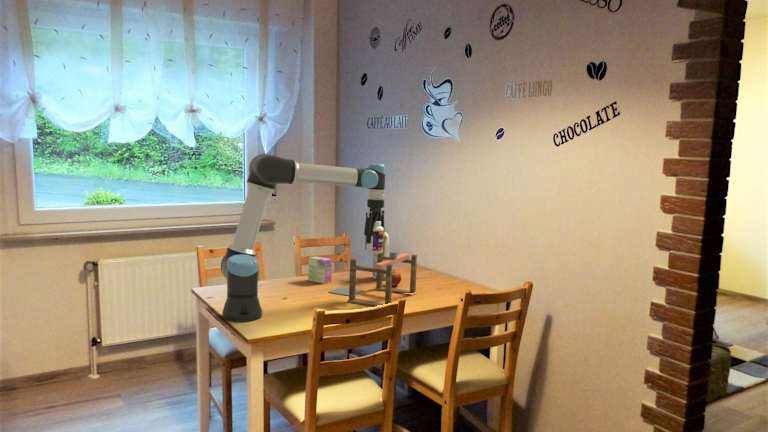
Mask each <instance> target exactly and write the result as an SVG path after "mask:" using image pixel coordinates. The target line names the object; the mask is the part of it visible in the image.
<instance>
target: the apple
mask: <svg viewBox="0 0 768 432" xmlns="http://www.w3.org/2000/svg"><path fill="white" fill-rule="evenodd" d="M401 280H402V275H401V273H400V272H398V271H395V270H392V287H395V286H396V285H397V286H399V284H400V283H401ZM384 281H386V276H385V280H384ZM397 286H396V287H397Z"/></svg>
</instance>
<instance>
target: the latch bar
mask: <svg viewBox="0 0 768 432" xmlns="http://www.w3.org/2000/svg"><path fill="white" fill-rule="evenodd" d="M410 256H411V255H410V254H409V253H402V254H398V252H397V251H389V257H390V259H388V260H385V261H383V262H380V263H377V264H375V269H380V270H382V269H385V268H386V265H387V264H390V265H392V266H395V265H397V264H399V263H403V262H402V261H405V260H407V259H409V260H411V257H410Z"/></svg>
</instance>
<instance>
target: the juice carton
mask: <svg viewBox="0 0 768 432" xmlns="http://www.w3.org/2000/svg"><path fill="white" fill-rule="evenodd" d="M383 256H386V257H390V237H389V234H388V233H387V232H385V231H384V234H383ZM377 257H378V254H372V268H375V264H377ZM383 261H385V260H383ZM384 270H386V268H385V269H384ZM372 276H373V280H374V279H377V273H375V272H372ZM385 276H386V274H382V281H386V280H385Z"/></svg>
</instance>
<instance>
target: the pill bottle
mask: <svg viewBox="0 0 768 432" xmlns="http://www.w3.org/2000/svg"><path fill="white" fill-rule="evenodd" d="M380 225H381V221H376V222H375V225H374V229H373V233H372V236H373V250H372V251H368V250H366V245H367V236H365V242H364V243H365V244H364V252H365V253H366V254H369V255H373V254H380V253H382V252H383V233H384V232H385V231H384V229H383V227H381V226H380Z"/></svg>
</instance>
